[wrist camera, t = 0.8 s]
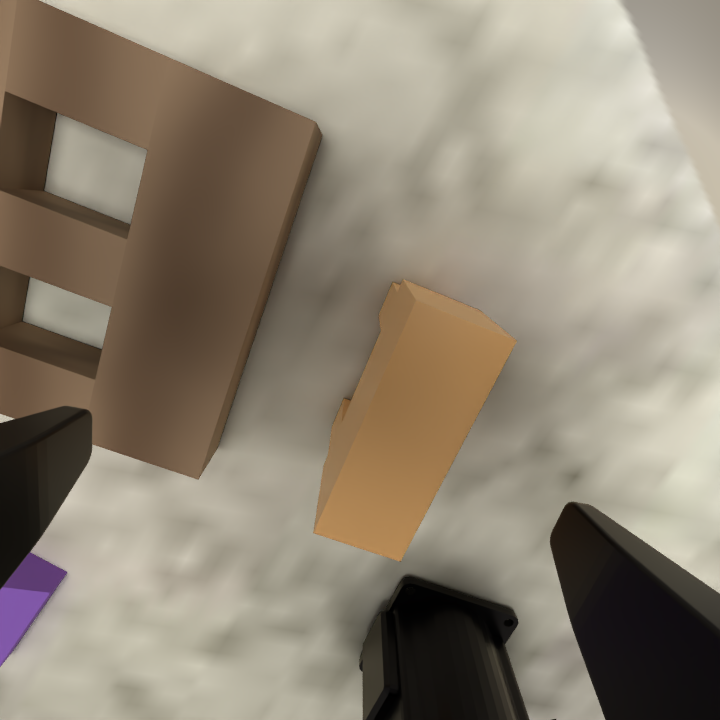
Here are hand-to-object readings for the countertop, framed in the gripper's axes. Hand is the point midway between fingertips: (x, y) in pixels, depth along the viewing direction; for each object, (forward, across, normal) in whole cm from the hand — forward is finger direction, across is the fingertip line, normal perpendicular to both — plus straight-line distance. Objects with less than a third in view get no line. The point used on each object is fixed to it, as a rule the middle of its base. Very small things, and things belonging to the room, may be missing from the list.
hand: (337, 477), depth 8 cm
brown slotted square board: (+11, +10, 0) cm, 15 cm away
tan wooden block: (+11, -2, +2) cm, 11 cm away
